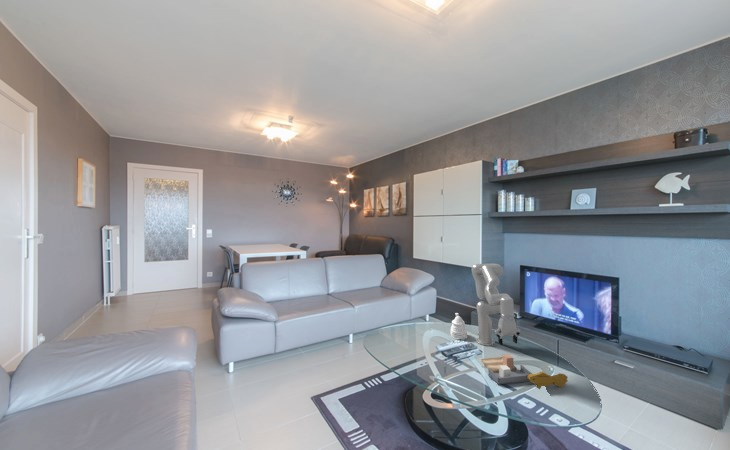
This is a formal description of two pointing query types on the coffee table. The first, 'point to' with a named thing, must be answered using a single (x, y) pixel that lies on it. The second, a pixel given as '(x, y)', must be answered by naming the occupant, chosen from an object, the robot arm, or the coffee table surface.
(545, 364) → the coffee table surface
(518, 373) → the box
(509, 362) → the terracotta block
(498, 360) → the board
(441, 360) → the coffee table surface
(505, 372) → the cream block
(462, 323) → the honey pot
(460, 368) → the coffee table surface
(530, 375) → the decorative fish
